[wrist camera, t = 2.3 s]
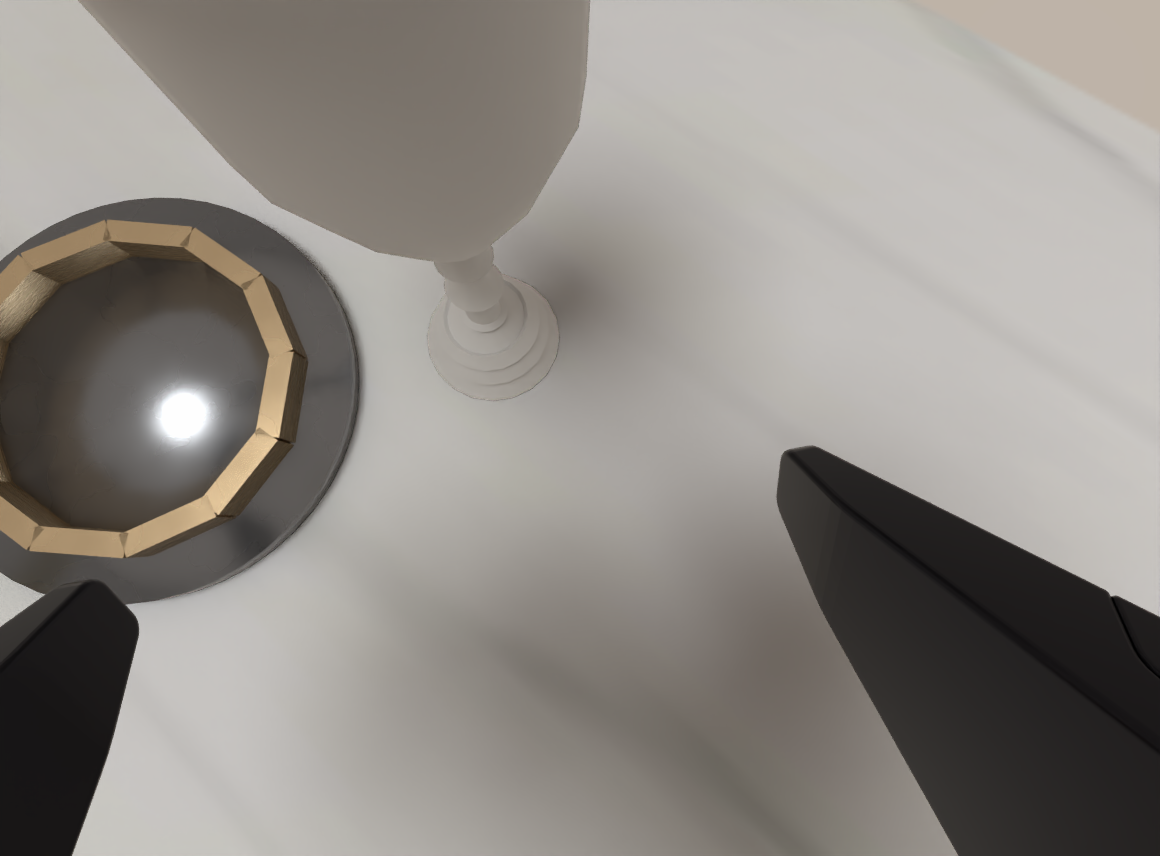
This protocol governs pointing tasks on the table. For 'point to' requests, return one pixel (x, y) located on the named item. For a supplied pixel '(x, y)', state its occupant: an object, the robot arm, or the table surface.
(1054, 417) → the table surface
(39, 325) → the collar
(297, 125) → the chalice
